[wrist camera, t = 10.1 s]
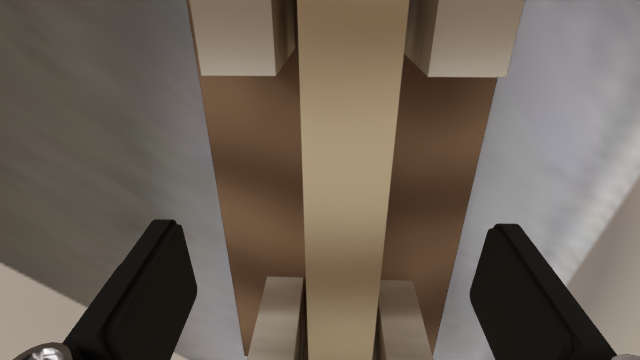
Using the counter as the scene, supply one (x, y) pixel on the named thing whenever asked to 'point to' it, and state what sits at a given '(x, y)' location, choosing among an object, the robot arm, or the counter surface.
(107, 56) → the counter surface
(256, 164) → the board
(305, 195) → the slat
